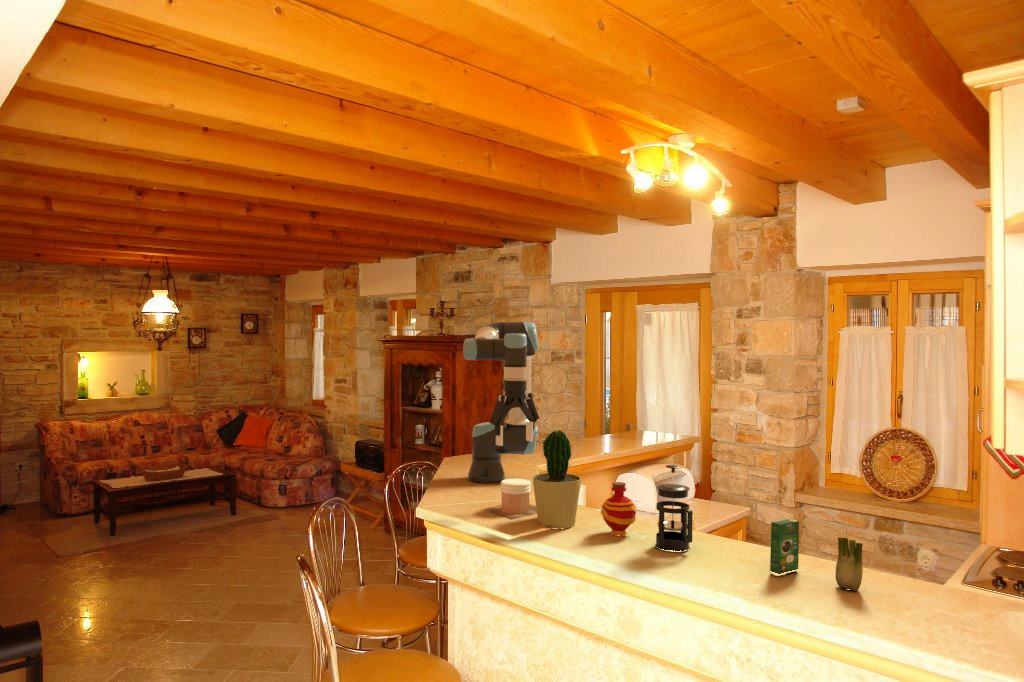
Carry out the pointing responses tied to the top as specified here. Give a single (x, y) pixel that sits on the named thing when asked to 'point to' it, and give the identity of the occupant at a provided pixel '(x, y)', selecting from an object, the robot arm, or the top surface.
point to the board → (498, 511)
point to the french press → (671, 538)
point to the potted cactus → (557, 484)
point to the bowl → (515, 503)
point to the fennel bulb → (849, 564)
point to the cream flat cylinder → (515, 486)
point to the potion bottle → (618, 510)
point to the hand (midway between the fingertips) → (514, 443)
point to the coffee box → (784, 546)
